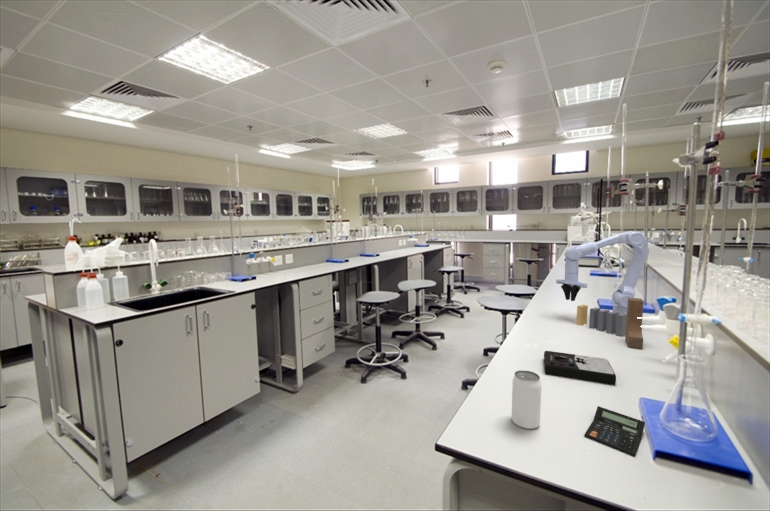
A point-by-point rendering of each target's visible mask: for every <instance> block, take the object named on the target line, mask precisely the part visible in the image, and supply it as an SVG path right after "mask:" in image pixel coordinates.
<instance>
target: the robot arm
mask: <svg viewBox="0 0 770 511" xmlns="http://www.w3.org/2000/svg"><path fill="white" fill-rule="evenodd" d="M615 244H625V245H626V246H628V247H629V249H631V251H632V252H633V255H632V256H631V259H630V262H629V264H628V266H627V269H626V272H625V274H624V277H623V279H622V282H621V284H620V285H619V286H618V287H617V289H616V291H614V292H613V293H612V295H611V296H612V297H611V298H612V300H613V302H614V303H613V305H612V312H613V311H615V312H619V314H622V313H624V314H627V304H628V298H635V295H636V293H635V288H636V286H637V283H638V281H639V279H640V276H641V274H642V271H643V269H644V267H645V265H646V261H647V258H648V256H649V254H650V250H649V249H650V248H649V245H648V238H647V237H646V235H645V234H644V233H642V232H641V231H633V230H628V231H624V232H620V233H617V234H614V235H611V236H609V237H606V238H603V239H600V240H598V241H596V242H594V241H588V240H586V241H584V243H581V244H580V245H574V247H569V248H567V249H566V250H565V252H564V257H565V264H564V279H558V278H557V279H555V284H560V285H561V286H560V287H561V289H562V291H563V293H564V297H565V300H566V301H569V300H570V302H574V301H576V298H577V295H578V293H579V291H581V288H583V289H587V288H588V283H584V282H579V268H580V266H579V265H580V264H579V262H580V261H579V260H580V258H583V257H586V256H589V255H592V254H595V253H596V252H597V251H598V250H599V249H601V248H605V247H608V246H612V245H615Z"/></svg>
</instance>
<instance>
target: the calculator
mask: <svg viewBox="0 0 770 511" xmlns="http://www.w3.org/2000/svg"><path fill="white" fill-rule="evenodd" d="M645 423H646V422H645V421H643V420H640V419H637V418H634V417H632V416H628V415H625V414H623V413H620V412H616V411H614V410H610V409H608V408H605V407H602V406H599V405H597V408H596V411H595V413H594V416H593V420H592V422H591V423H590V425H589V426H588V428H587V430H586V431H585V433H584V435H583V437H584V438H587V439H589V440H592V441H594V442H597V443H599V444H601V445H603V446H606V447H608V448H612V449H614V450H617V451H618V452H621V453H624V454H625V455H629V456H631V457H634V458H635V457H636V455H637V453H638V450H639V447H640V444H641V442H642V439H643V435H644V431H645V430H644V429H645V425H646V424H645Z"/></svg>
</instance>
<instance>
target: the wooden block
mask: <svg viewBox="0 0 770 511" xmlns="http://www.w3.org/2000/svg"><path fill="white" fill-rule="evenodd" d="M643 313H644V300H643V299H642V298H640V297H638V298H637V297H634V298H628V304H627V320H626V335H625V336H624V337H625V338H624V339H625V343H626V344H627V347H628V348H630V349H631V348H633V349H638V350H643V346H644V336H643V327H642V328H641V327H640V326H641V325H642V326H643V317H644V316H643ZM637 317H642V319H637Z"/></svg>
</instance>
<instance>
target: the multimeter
mask: <svg viewBox="0 0 770 511" xmlns="http://www.w3.org/2000/svg"><path fill="white" fill-rule="evenodd" d="M543 364H544V374H545V375H548V376H554V377H561V378H566V379H573V380H578V381H579V380H580V381H585V382H593V383H599V384H602V385H610V386H616V383H617V376H616V373H615V371H614V369H613V367H612V366H611V363H610V362H609V359H607V358H603V357H597V356H590V355H582V354H575V353H574V354H573V353H565V352H559V351H552V350H545V351H544V353H543Z"/></svg>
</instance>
